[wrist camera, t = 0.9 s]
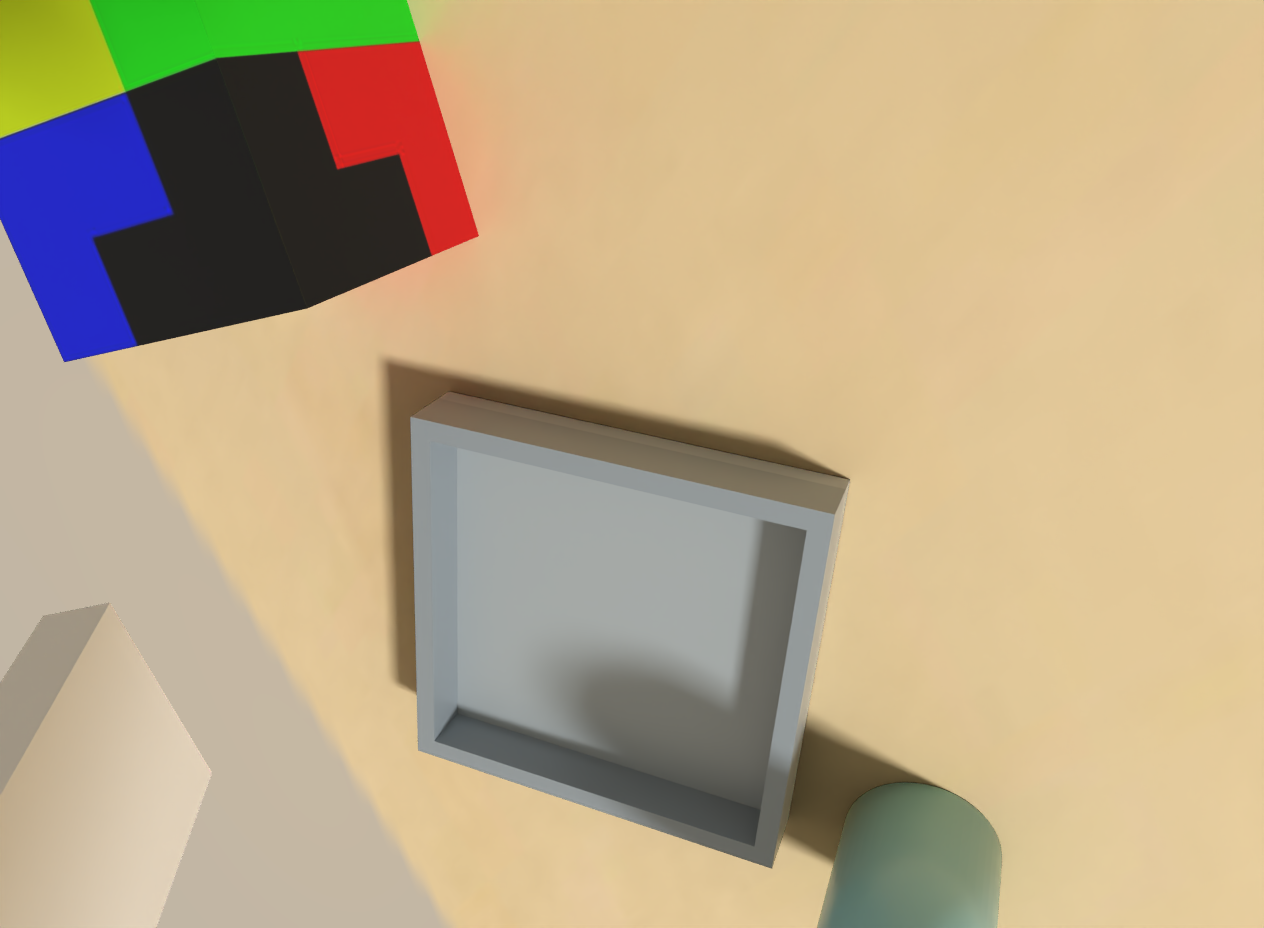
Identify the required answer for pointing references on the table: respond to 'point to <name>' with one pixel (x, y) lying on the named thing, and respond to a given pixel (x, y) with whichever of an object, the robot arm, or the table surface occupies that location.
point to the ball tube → (914, 863)
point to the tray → (619, 616)
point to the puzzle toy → (215, 160)
